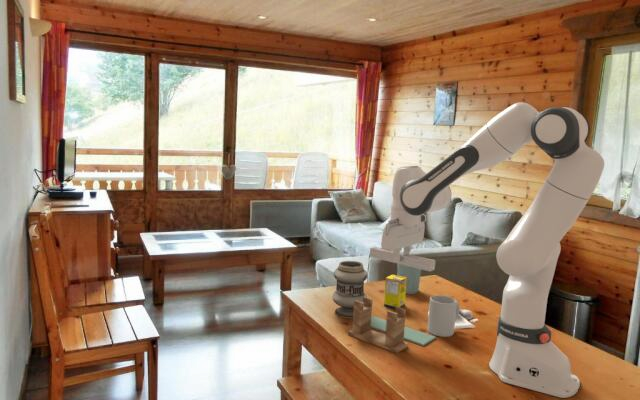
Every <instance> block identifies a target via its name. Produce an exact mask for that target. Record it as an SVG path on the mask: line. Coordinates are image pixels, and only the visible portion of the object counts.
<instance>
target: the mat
mask: <svg viewBox="0 0 640 400" xmlns="http://www.w3.org/2000/svg"><path fill="white" fill-rule="evenodd" d="M386 321H387V319H384V318H381V317H378V316H375V315H371V329H374V330H377V331H379V332H383V333H384V334H386ZM404 340H405V341H408V342H410V343H413V344H416V345H419V346H421V347H424V346H426V345H427V344H429V343H431V342H433V341H434V340H436V335H433V334H429V333H426V332H422V331H419V330H416V329H414V328H411V327H407V326H405V328H404Z"/></svg>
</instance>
